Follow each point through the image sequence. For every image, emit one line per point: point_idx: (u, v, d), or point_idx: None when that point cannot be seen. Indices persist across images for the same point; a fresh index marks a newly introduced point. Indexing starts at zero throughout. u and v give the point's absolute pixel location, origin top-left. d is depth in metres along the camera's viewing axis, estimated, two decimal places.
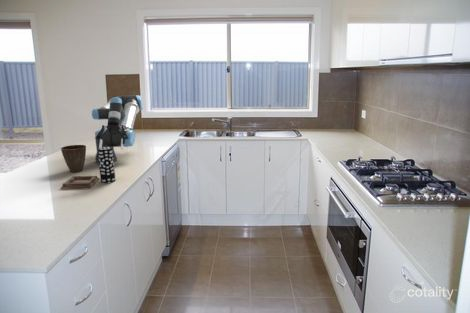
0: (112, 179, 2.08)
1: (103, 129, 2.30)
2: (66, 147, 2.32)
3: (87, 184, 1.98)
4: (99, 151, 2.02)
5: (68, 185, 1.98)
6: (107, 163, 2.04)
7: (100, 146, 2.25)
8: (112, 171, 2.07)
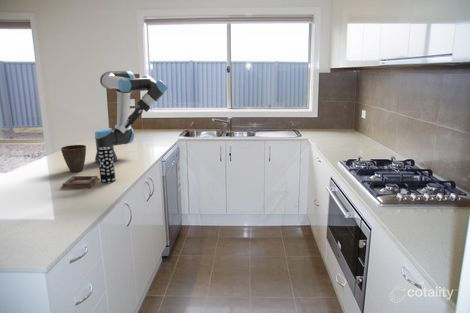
0: (112, 179, 2.08)
1: None
2: (66, 147, 2.32)
3: (87, 184, 1.98)
4: (99, 151, 2.02)
5: (68, 185, 1.98)
6: (107, 163, 2.04)
7: (124, 131, 2.01)
8: (112, 171, 2.07)
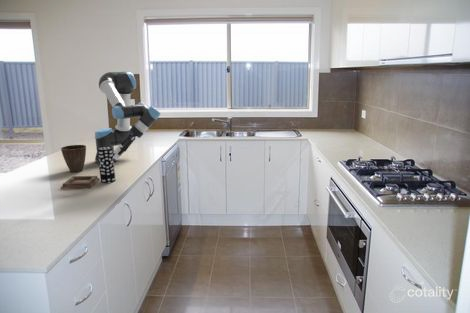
0: (112, 179, 2.08)
1: None
2: (66, 147, 2.32)
3: (87, 184, 1.98)
4: (99, 151, 2.02)
5: (68, 185, 1.98)
6: (107, 163, 2.04)
7: (117, 157, 2.02)
8: (112, 171, 2.07)
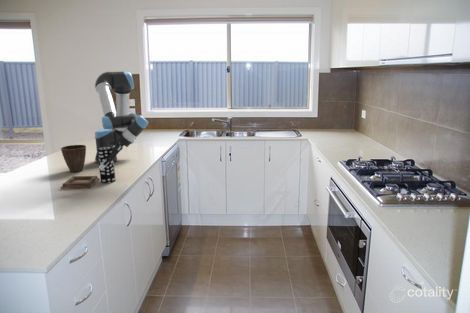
0: (112, 179, 2.08)
1: None
2: (66, 147, 2.32)
3: (87, 184, 1.98)
4: (99, 151, 2.02)
5: (68, 185, 1.98)
6: None
7: None
8: (112, 171, 2.07)
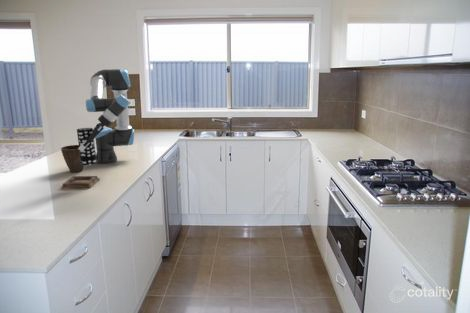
0: (93, 161, 2.01)
1: None
2: (66, 147, 2.32)
3: (87, 184, 1.98)
4: (79, 132, 1.95)
5: (68, 185, 1.98)
6: None
7: None
8: (93, 153, 2.00)
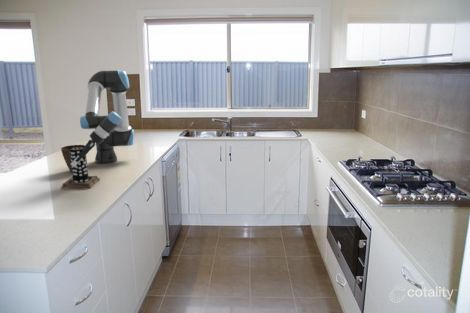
0: (85, 180, 2.02)
1: None
2: (66, 147, 2.32)
3: (87, 184, 1.98)
4: (71, 151, 1.97)
5: (68, 185, 1.98)
6: (80, 164, 1.99)
7: (75, 164, 1.96)
8: (85, 172, 2.02)
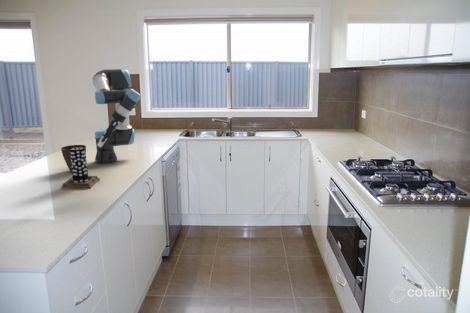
0: (85, 180, 2.02)
1: None
2: (66, 147, 2.32)
3: (87, 184, 1.98)
4: (71, 151, 1.97)
5: (68, 185, 1.98)
6: (79, 164, 1.99)
7: None
8: (85, 172, 2.02)
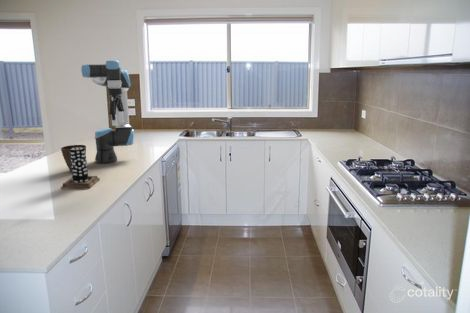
0: (85, 180, 2.02)
1: None
2: (66, 147, 2.32)
3: (87, 184, 1.98)
4: (71, 151, 1.97)
5: (68, 185, 1.98)
6: (79, 164, 1.99)
7: (116, 123, 2.06)
8: (85, 172, 2.02)
